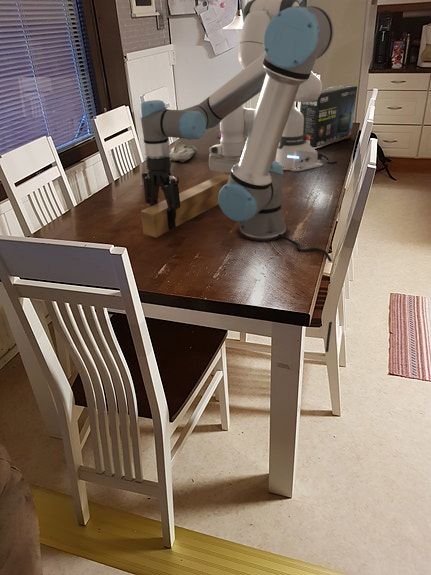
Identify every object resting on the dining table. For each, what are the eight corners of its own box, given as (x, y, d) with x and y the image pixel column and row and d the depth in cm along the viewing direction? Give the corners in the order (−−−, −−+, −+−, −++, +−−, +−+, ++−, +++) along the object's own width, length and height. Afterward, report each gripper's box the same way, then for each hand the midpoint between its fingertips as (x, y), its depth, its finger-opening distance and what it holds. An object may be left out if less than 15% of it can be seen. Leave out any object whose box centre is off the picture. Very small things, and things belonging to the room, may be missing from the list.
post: (156, 237, 145) (153, 214, 141) (143, 233, 148) (140, 211, 144) (249, 187, 183) (249, 168, 179) (237, 185, 185) (237, 166, 181)
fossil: (184, 156, 217) (163, 136, 220) (174, 174, 223) (154, 154, 227) (205, 153, 231) (186, 134, 234) (195, 171, 237) (176, 152, 240)
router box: (314, 151, 231) (318, 94, 217) (296, 148, 237) (299, 92, 224) (352, 138, 251) (358, 85, 238) (335, 135, 258) (340, 83, 245)
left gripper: (189, 156, 137) (194, 228, 149) (144, 149, 147) (152, 216, 159) (172, 162, 132) (179, 236, 144) (127, 154, 142) (136, 224, 153)
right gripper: (260, 150, 167) (260, 187, 174) (215, 144, 178) (216, 178, 185) (251, 154, 163) (251, 192, 170) (205, 147, 173) (207, 183, 181)
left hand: (164, 226), depth 151 cm, fingers closed on post, 6 cm apart
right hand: (233, 185), depth 177 cm, fingers closed on post, 5 cm apart
